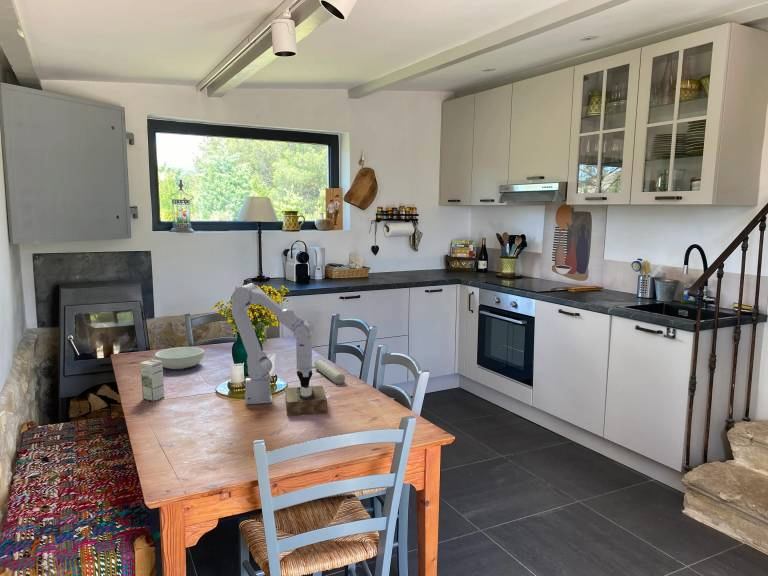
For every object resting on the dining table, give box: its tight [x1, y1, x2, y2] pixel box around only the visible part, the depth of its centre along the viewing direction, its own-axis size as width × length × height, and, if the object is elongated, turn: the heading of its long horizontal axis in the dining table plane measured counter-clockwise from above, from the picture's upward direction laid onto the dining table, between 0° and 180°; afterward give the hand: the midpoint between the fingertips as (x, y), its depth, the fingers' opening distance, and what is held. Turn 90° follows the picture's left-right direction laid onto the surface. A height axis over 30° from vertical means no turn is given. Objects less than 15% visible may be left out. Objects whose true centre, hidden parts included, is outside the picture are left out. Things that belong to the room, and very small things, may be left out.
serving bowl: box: [154, 346, 205, 370], centre depth 262 cm, size 21×21×7 cm
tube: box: [313, 358, 346, 385], centre depth 248 cm, size 5×5×25 cm
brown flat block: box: [284, 385, 328, 417], centre depth 211 cm, size 14×16×5 cm
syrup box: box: [139, 358, 165, 402], centre depth 219 cm, size 6×6×14 cm
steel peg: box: [300, 385, 312, 399], centre depth 207 cm, size 4×4×5 cm
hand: (304, 390), depth 215 cm, fingers closed, pressing on brass peg
